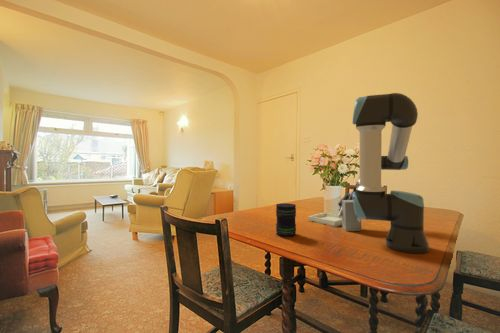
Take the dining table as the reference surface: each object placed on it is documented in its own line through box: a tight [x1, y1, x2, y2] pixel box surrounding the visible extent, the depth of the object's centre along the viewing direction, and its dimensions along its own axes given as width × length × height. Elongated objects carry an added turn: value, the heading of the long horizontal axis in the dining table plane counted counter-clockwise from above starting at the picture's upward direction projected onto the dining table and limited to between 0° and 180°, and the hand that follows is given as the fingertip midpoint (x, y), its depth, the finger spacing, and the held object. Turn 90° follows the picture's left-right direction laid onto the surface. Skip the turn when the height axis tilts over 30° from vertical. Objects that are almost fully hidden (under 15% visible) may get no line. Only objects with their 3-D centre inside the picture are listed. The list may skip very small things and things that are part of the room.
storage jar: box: [275, 202, 297, 238], centre depth 119 cm, size 10×10×15 cm
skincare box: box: [341, 200, 362, 232], centre depth 127 cm, size 8×7×16 cm
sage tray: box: [307, 212, 342, 228], centre depth 146 cm, size 18×18×3 cm
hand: (348, 218), depth 125 cm, fingers closed on skincare box, 10 cm apart
